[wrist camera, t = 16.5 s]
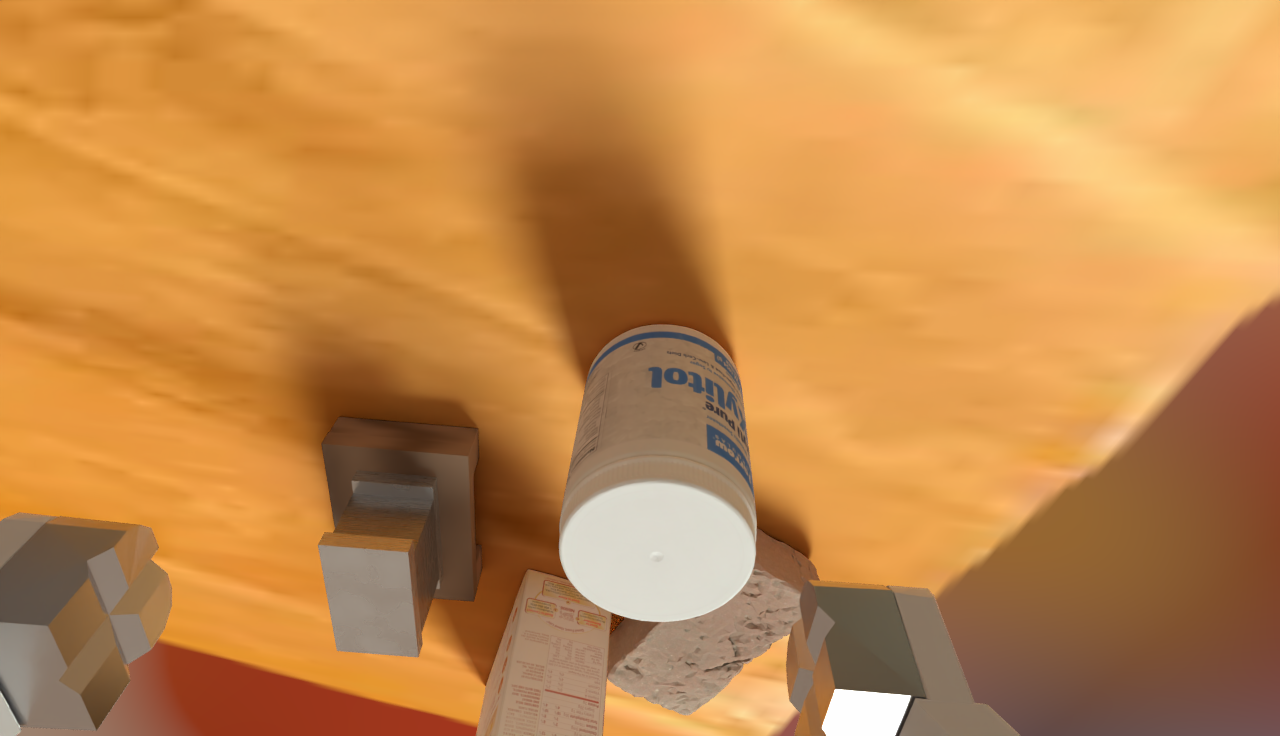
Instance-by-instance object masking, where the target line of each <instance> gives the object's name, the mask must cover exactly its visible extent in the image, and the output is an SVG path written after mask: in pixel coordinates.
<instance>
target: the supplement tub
mask: <svg viewBox="0 0 1280 736" xmlns="http://www.w3.org/2000/svg"><path fill="white" fill-rule="evenodd" d="M756 529H757V519H756V508H755V498H754V490H753V481H752V472H751V463H750V455H749V446H748V438H747V429H746V421H745V412H744V403H743V395H742V388H741V381H740V376H739V373H738V371H737V368H736V366H735V364H734V362H733V360H732V359H731V357H730V356H729V354H728V353H727V352H726V351H725V350H724V349H723V348H722V347H721V346H720V345H719V344H718V343H717V342H716V341H714V340H713V339H712V338H710V337H708V336H707V335H705V334H703V333H701V332H699V331H697V330H694V329H691V328H688V327H684V326H678V325H669V324H656V325H647V326H642V327H638V328H634V329H632V330H629V331H627V332H625V333H623V334H621V335H619V336H617V337H616V338H614V339H613V340H612V341H610V342H609V343H608V344H607V345H606V346H605V347H604V348H603V349H602V350H601V351H600V352H599V353H598V355H597V356H596V358H595V359H594V361H593V363H592V365H591V367H590V370H589V373H588V377H587V381H586V386H585V391H584V396H583V401H582V407H581V412H580V417H579V422H578V427H577V432H576V438H575V443H574V448H573V453H572V458H571V463H570V469H569V474H568V479H567V484H566V489H565V494H564V500H563V506H562V512H561V517H560V524H559V532H560V538H559V555H560V561H561V564H562V567H563V569H564V571H565V573H566V576H567V577H568V579H569V580H570V582H571V583H572V584H573V585H574V587H575V588H576V589H577V590H578V591H579V592H580V593H581V594H582V595H583V596H584V597H586V598H587V599H588V600H590V601H591V602H592V603H594V604H596V605H597V606H599V607H601V608H603V609H605V610H607V611H610V612H612V613H614V614H617V615H620V616H623V617H627V618H631V619H636V620H641V621H652V622H669V621H679V620H685V619H690V618H694V617H697V616H701V615H704V614H706V613H709V612H711V611H713V610H715V609H717V608H719V607H721V606H722V605H724V604H726V603H727V602H728V601H729V600H731V599H732V598H733V597H734V596H735V595H736V594H737V593H738V592H739V591H740V590H741V589H742V588H743V587H744V585H745V584H746V582H747V581H748V579H749V577H750V575H751V573H752V570H753V568H754V563H755V557H756V535H757V531H756Z"/></svg>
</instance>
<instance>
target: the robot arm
mask: <svg viewBox="0 0 1280 736" xmlns="http://www.w3.org/2000/svg"><path fill="white" fill-rule="evenodd" d="M158 548H159V547H158V544H157V542H156V539H155V537H154V534H153V531H152V529H151V528H149V527H146V526H142V525H137V524H127V523H118V522H109V521H100V520H91V519H81V518H72V517H63V516H60V517H57V516H47V515H38V514H28V513H17V514H14V515H12V516H9V517H7V518H4V519H3V520H2V521H0V736H16V735H17V734H18V733H20V732H21V730H22V729H21V728H20V727H31V728H32V727H33V728H51V729H71V730H91V731H97V729H98V728H99V727H100V725H101V724H102V722H103V721H104V719H105V718H106V716H107V715H108V713H109V712H110V710H111V709H112V707H113V705H114V704H115V703H116V701H117V700H118V698H119V697H120V695H121V694H122V693H123V691H124V689H125V688H126V686H127V685H128V684H129V682H130V676H129V669H128V664H129V663H131V662H132V661H134V660H135V659H137V658H138V657H140V656H142V655H143V654H145V653H146V652H148V651H150V650H151V649H152V648H153V646H154V645H155V643H156V641H157V640H158V638H159V637H160V635H161V634H162V632H163V630H164V628H165V625H166V622H167V619H168V616H169V613H170V609H171V606H172V587H171V584H170V581H169V577H168V574H167V573H166V572H165V571H164V570H162V569H161V568H160V567H159V566H158V565H157V564H155V563H154V562H153V561H152V560H151V558H152V557H153V555H154V554H155V552H156V551H157V550H158ZM799 604H800V609H801V615H802V618H801V619H800V620H798V621H797V622H796V623H794V624H793V625H792V628H791V633H790V637H789V641H788V648H787V661H786V671H787V685H788V693H789V700H790V702H791V703H792V704H793V705H794V707H795V708H796V709H797V710H798V711H799V712H800V713H801V714H800V717H799V721H798V724H797V727H796V731H795V736H1020V735H1019V734H1018V733H1017V732H1016V731H1015V730H1014V729H1013V728H1012V727H1011V726H1010V725H1009V724H1008V723H1007V722H1005V721H1004V720H1003V719H1002V718H1001V717H1000V716H999V715H998V714H997V713H996V712H995V711H994V710H993V709H992V708H991V707H990V706H988V705H987V704H979V703H975V702H974V700H973V697H972V694H971V692H970V689H969V687H968V684H967V681H966V679H965V676H964V673H963V671H962V668H961V665H960V663H959V660H958V658H957V655H956V652H955V650H954V647H953V644H952V642H951V639H950V636H949V634H948V631H947V629H946V626H945V624H944V621H943V618H942V616H941V613H940V610H939V608H938V605H937V602H936V600H935V597H934V595H933V594H932V593H931V592H930V591H929V590H928V589H926V588H912V587H899V586H886V587H885V586H884V585H874V584H860V583H846V582H832V581H819V580H807V582H806V583H805V585H804V586H803V589H802V592H801V596H800V599H799Z"/></svg>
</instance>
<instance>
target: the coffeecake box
mask: <svg viewBox="0 0 1280 736" xmlns="http://www.w3.org/2000/svg"><path fill="white" fill-rule="evenodd" d="M611 614H612V612H610V611H607V610H605V609H603V608H601V607H599V606H597V605H596V604H594V603H592V602H591V601H590V600H588V599H587V598H586V597H584V596H583V595H582V594H581V593H580V592H579V591H578V590H577V589H576V588H575V587H574V585H573V584H572V583H571V582H570V580H566V579H563V578H560V577H557V576H554V575H550V574H546V573H542V572H538V571H534V570H530V569H528V570H527V571H526V573H525V576H524V578H523V581H522V584H521V586H520V589H519V592H518V594H517V597H516V600H515V603H514V606H513V609H512V612H511V614H510V617H509V620H508V623H507V626H506V629H505V632H504V634H503V637H502V640H501V643H500V646H499V649H498V652H497V655H496V658H495V660H494V663H493V666H492V669H491V672H490V675H489V678H488V681H487V684H486V688H485V695H484V700H483V705H482V710H481V715H480V719H479V724H478V729H477V733H476V736H603V726H604V711H605V696H606V682H607V668H608V653H609V639H610V626H611Z"/></svg>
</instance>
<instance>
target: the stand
mask: <svg viewBox="0 0 1280 736" xmlns="http://www.w3.org/2000/svg"><path fill="white" fill-rule="evenodd" d="M322 450H323V456H324V463H325V469H326V475H327V481H328V487H329V493H330V500H331V506H332V512H333V518H334V524H335V528H336V526H337V524H338V522H339V520H340V518H341V516H342V514H343V512H344V510H345V508H346V506H347V504H348V502H349V500H350V498H351V496H352V494H353V488H352V479H353V477H354V475H355V473H356V471H357V470H358V471H370V472H382V473H394V474H406V475H418V476H430V477H437V488H438V503H439V518H440V533H441V548H442V563H443V581H442V584H441V587H440V589H436V590H435V593H434V596H433V598H437V599H449V600H461V601H474V599H475V595H476V592H477V587H478V583H479V579H480V575H481V572H482V545H476V535H475V506H474V477H473V475H474V472H475V469H476V465H477V462H478V459H479V440H478V429H477V428H465V427H454V426H442V425H430V424H418V423H407V422H395V421H383V420H371V419H360V418H348V417H338V419H337V421H336V422H335V424H334V426H333V427H332V429H331V431H330V432H328V434H327V436H326V437H325V439H324V440H323V442H322Z"/></svg>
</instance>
